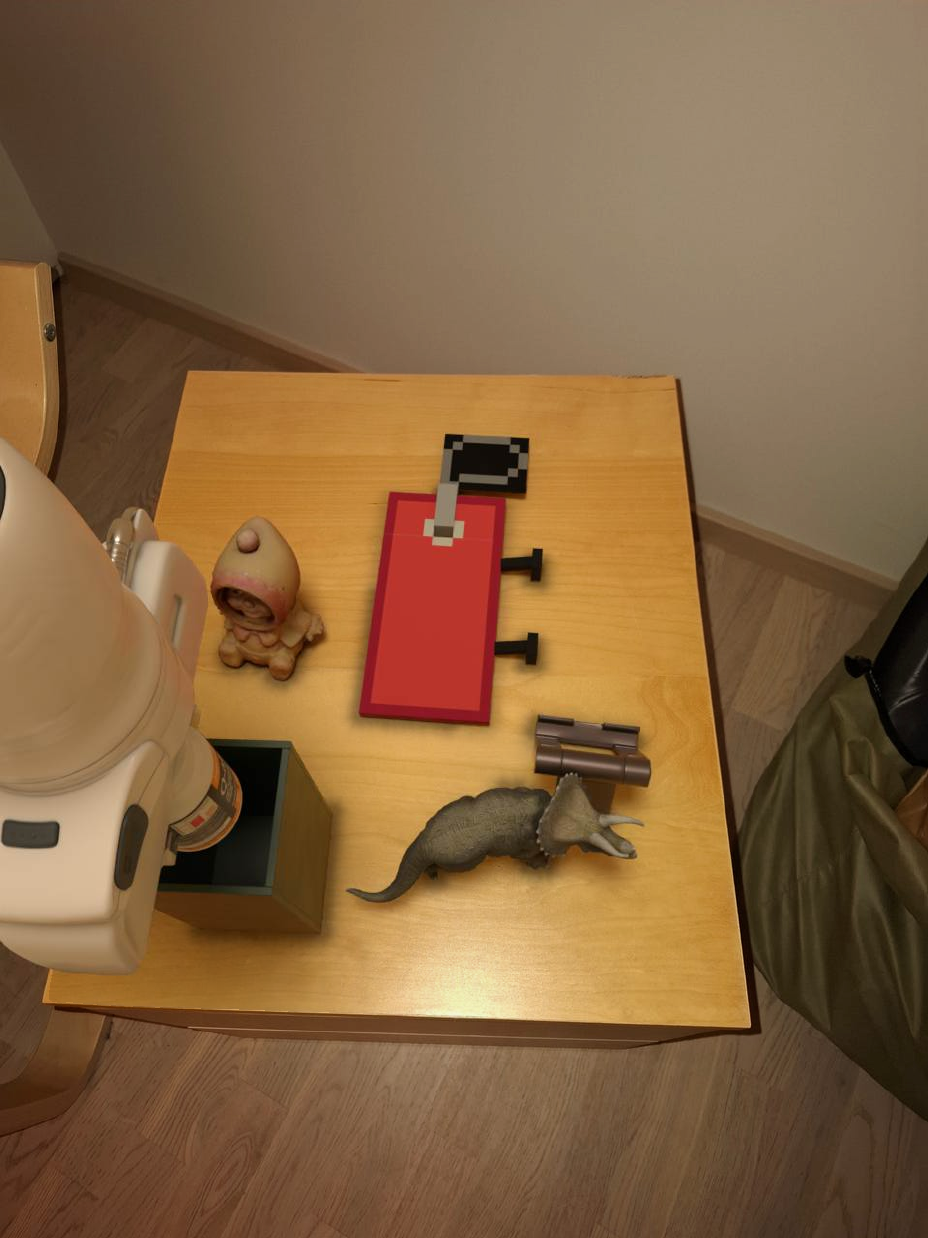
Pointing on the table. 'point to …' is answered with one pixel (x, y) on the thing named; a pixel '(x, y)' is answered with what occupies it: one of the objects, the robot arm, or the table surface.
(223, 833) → the pill bottle
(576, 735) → the tablet stand
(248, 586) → the figurine
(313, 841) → the trash can
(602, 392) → the table surface
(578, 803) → the toy dinosaur
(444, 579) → the red board with handle
